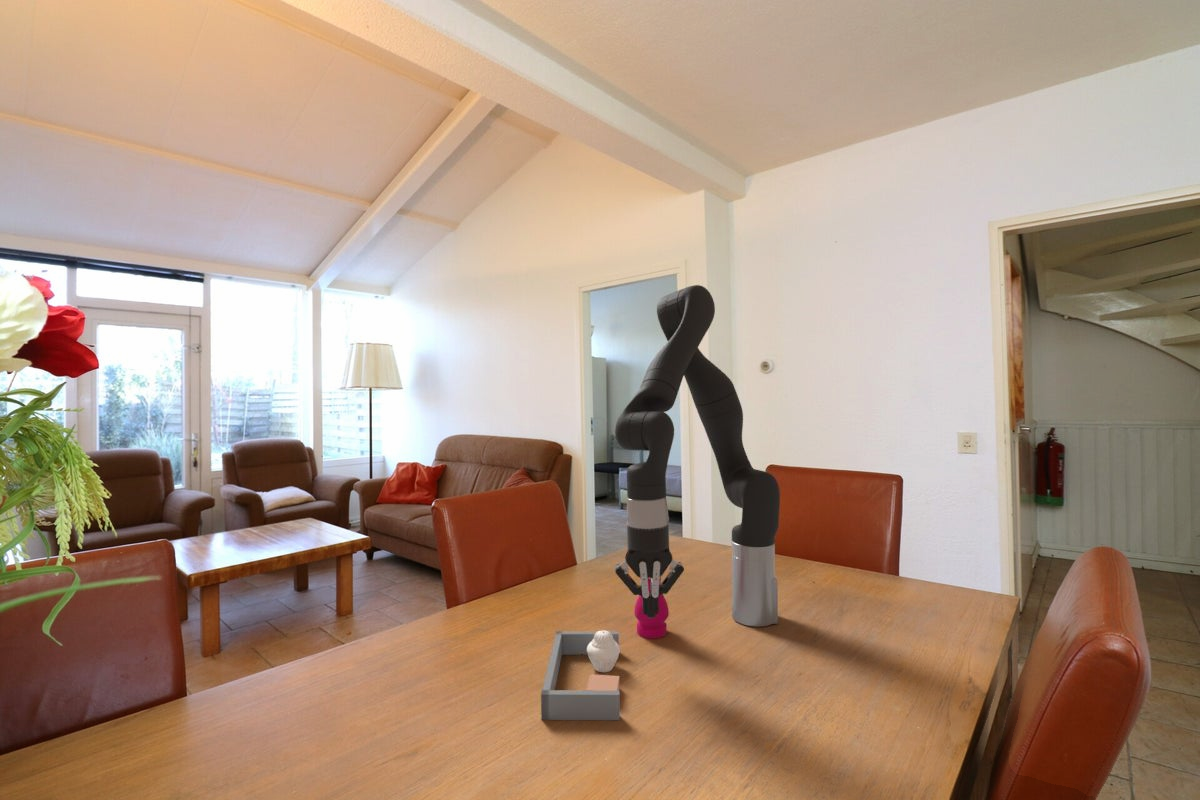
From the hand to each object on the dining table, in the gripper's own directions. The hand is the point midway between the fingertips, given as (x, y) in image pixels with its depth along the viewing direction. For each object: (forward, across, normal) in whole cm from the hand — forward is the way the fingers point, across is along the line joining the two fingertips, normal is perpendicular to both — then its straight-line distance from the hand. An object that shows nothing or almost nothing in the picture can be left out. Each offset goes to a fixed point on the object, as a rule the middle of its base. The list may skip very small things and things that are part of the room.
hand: (650, 616), depth 101 cm
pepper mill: (+10, -1, -16) cm, 19 cm away
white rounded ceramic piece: (+10, +9, -1) cm, 13 cm away
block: (+10, +9, +8) cm, 16 cm away
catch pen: (+10, +12, +4) cm, 16 cm away
